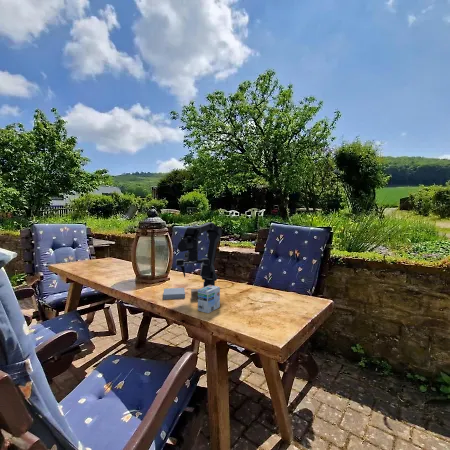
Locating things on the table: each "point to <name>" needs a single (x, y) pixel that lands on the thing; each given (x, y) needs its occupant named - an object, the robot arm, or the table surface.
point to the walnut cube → (194, 294)
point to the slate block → (174, 293)
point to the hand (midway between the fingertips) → (192, 276)
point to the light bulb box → (208, 298)
